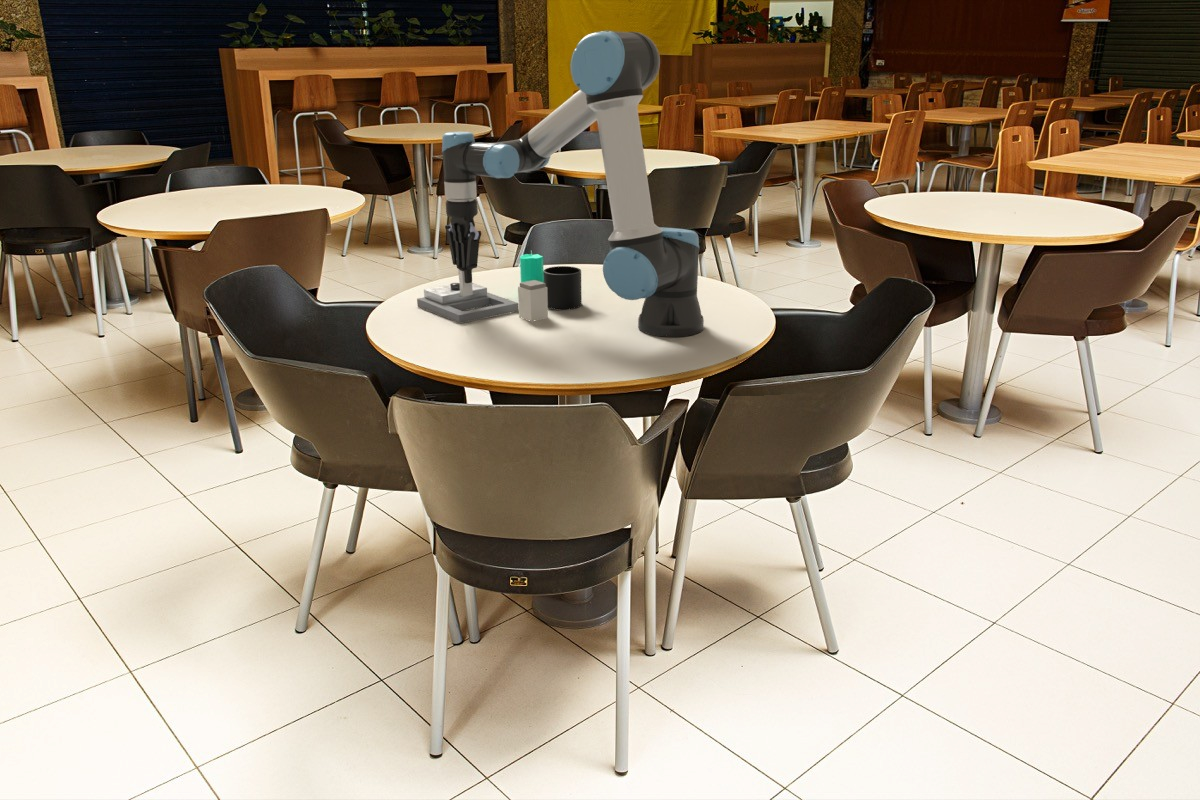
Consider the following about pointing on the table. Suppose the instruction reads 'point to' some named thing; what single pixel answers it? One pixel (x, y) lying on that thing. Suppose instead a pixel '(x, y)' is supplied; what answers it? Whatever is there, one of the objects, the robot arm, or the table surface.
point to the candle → (531, 267)
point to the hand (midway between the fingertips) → (466, 294)
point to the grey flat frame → (456, 308)
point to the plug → (533, 300)
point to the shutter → (453, 293)
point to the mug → (563, 287)
